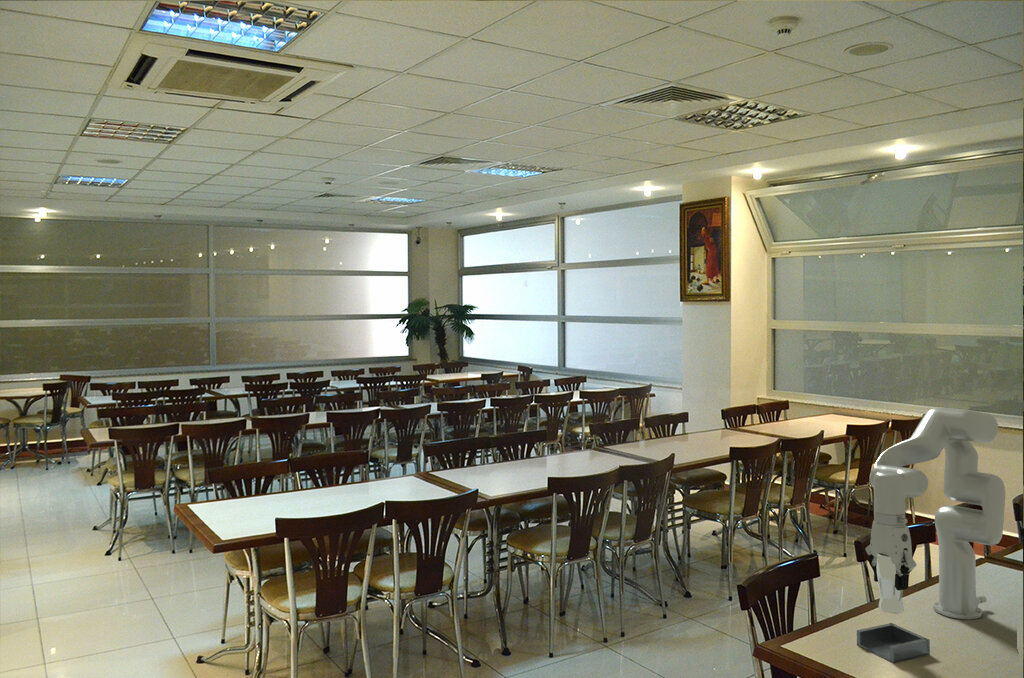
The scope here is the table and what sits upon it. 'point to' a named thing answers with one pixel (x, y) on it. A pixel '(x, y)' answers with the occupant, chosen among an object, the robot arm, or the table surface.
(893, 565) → the beer glass
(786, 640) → the table surface
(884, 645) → the grey tray
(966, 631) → the table surface
